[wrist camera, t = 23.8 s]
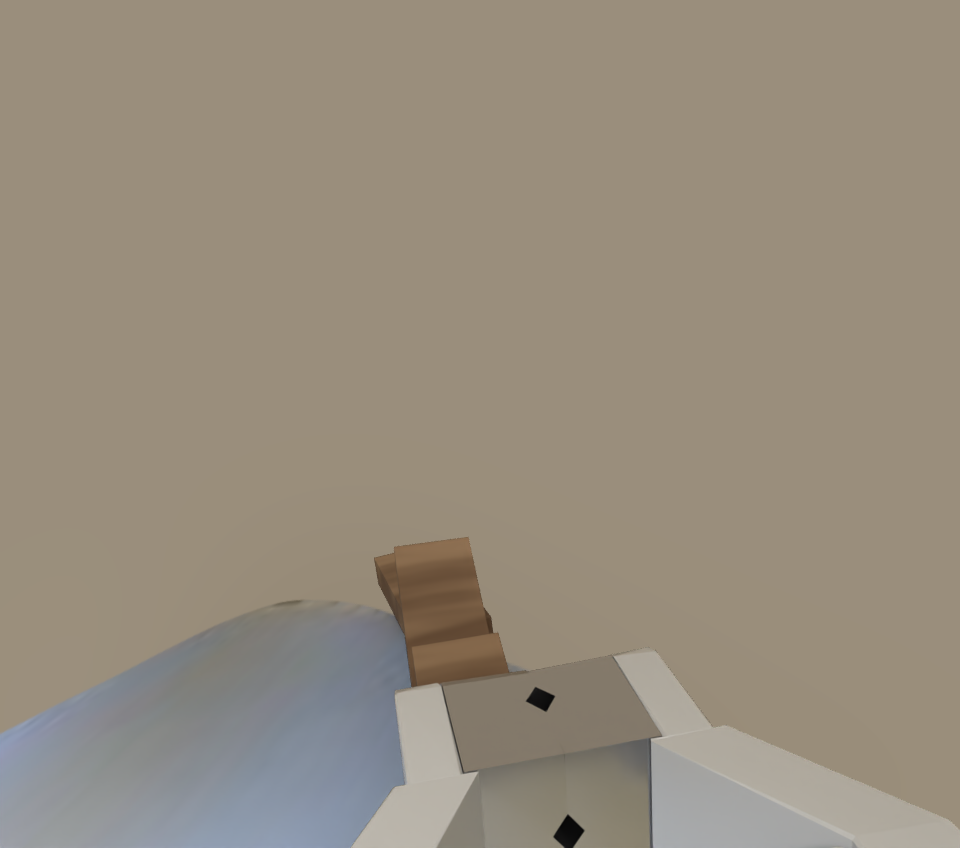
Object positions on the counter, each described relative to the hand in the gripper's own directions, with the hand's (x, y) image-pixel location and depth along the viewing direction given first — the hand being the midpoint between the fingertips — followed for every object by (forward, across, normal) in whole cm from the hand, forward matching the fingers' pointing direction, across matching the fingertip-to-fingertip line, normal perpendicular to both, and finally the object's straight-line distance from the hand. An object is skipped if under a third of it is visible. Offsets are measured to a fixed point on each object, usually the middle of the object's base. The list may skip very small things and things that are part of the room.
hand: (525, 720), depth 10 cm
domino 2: (+27, -2, +20) cm, 34 cm away
